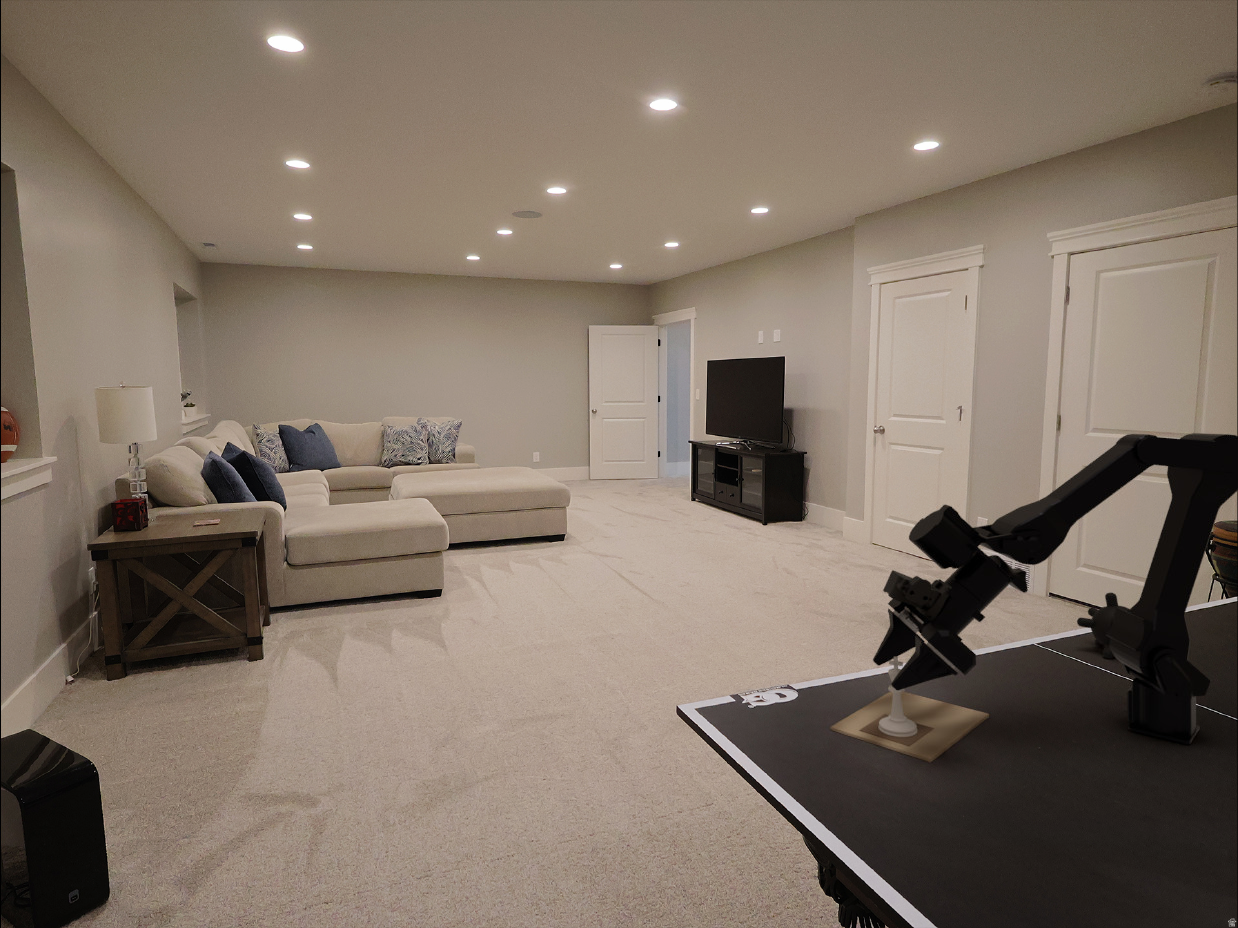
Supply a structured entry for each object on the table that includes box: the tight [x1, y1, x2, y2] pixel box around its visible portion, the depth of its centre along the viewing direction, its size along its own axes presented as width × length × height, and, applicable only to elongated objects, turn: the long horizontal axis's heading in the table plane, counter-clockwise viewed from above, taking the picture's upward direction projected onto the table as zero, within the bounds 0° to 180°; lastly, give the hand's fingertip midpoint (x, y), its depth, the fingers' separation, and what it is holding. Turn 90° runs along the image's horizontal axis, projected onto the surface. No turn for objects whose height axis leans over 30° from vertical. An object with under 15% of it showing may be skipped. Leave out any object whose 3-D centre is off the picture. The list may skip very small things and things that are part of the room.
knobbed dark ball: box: [1076, 592, 1130, 660], centre depth 122 cm, size 11×11×12 cm
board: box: [830, 691, 990, 763], centre depth 100 cm, size 14×18×1 cm
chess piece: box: [879, 656, 917, 737], centre depth 97 cm, size 5×5×10 cm
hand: (884, 674), depth 97 cm, fingers open, 9 cm apart
